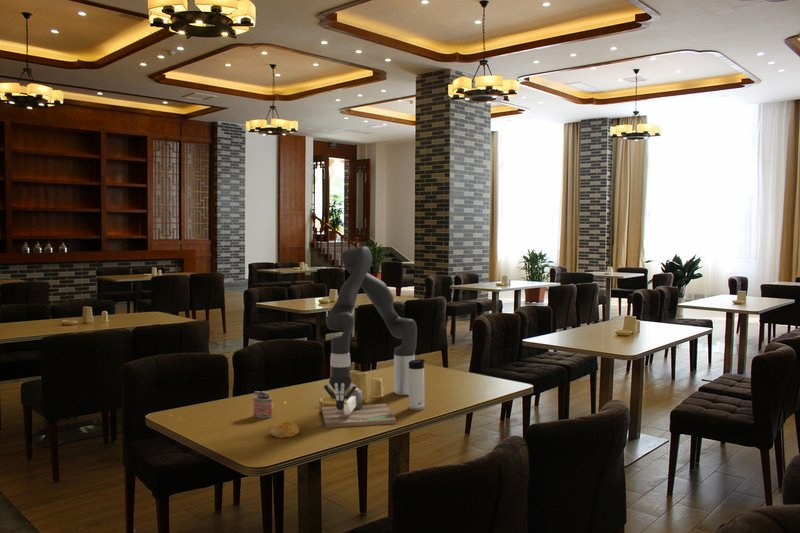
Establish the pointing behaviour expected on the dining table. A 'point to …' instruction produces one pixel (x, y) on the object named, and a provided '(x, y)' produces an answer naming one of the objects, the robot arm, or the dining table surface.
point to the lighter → (262, 405)
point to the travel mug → (416, 384)
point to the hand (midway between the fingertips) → (340, 409)
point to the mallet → (353, 402)
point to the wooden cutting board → (358, 416)
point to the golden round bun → (284, 429)
